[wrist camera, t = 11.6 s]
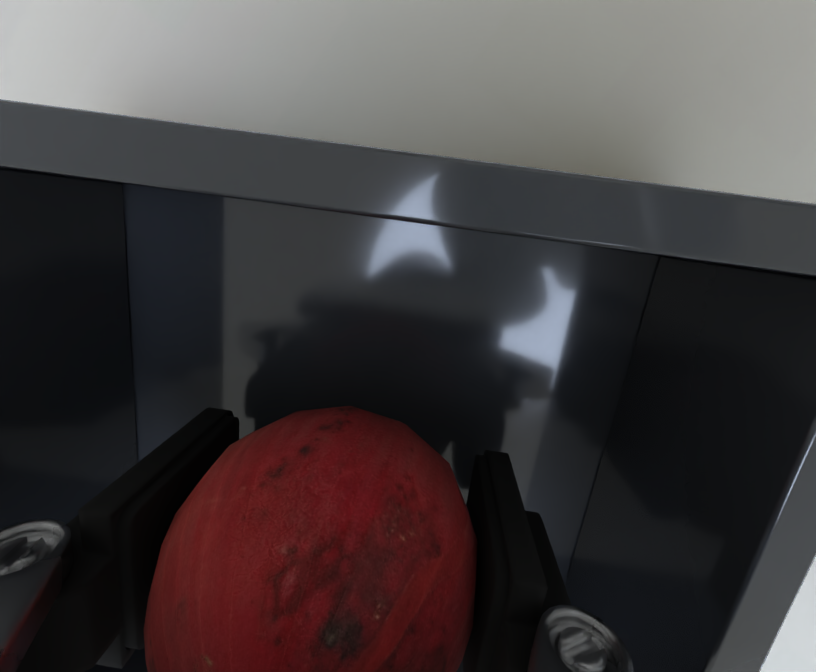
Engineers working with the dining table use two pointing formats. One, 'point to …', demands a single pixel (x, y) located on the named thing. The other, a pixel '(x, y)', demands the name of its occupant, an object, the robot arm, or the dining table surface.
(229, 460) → the red round fruit
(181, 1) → the dining table surface
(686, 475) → the dark grey open box
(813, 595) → the dining table surface
